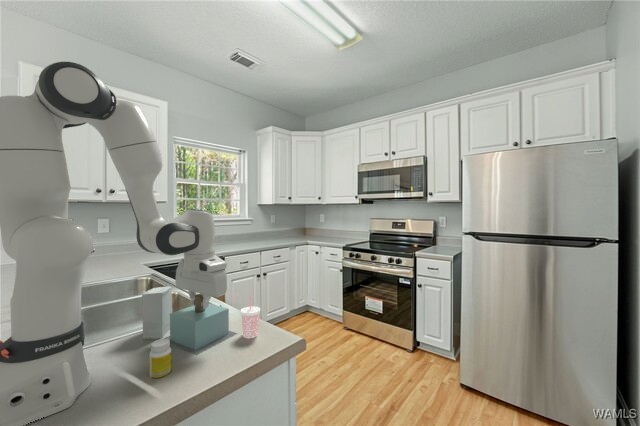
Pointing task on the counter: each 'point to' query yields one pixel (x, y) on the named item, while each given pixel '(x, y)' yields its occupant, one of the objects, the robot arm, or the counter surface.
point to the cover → (199, 324)
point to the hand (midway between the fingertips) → (199, 306)
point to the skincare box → (156, 312)
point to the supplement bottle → (160, 359)
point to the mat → (203, 346)
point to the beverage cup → (250, 321)
